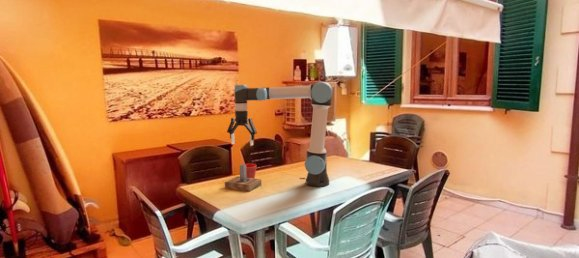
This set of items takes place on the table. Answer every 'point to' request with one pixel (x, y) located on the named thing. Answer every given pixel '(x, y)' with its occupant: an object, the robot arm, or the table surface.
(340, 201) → the table surface
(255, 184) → the well block
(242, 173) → the grey stepped bar
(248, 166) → the flower pot
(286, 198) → the table surface
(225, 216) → the table surface
